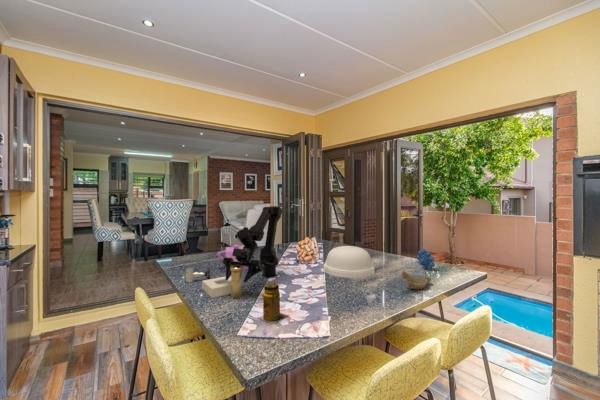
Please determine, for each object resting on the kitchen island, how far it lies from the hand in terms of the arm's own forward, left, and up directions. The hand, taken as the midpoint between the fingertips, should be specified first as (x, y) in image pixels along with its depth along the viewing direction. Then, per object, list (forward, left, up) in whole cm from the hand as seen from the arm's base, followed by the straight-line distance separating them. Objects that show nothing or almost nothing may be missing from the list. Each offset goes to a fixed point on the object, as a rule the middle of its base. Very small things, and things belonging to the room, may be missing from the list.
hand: (235, 281), depth 120 cm
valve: (+6, -33, -7) cm, 35 cm away
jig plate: (+2, -12, -7) cm, 14 cm away
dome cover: (-72, 0, -8) cm, 72 cm away
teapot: (-21, -45, -7) cm, 51 cm away
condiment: (-3, +27, -7) cm, 28 cm away
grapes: (-110, +26, -7) cm, 113 cm away
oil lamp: (-76, +41, -7) cm, 87 cm away
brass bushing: (-1, -1, -7) cm, 7 cm away
